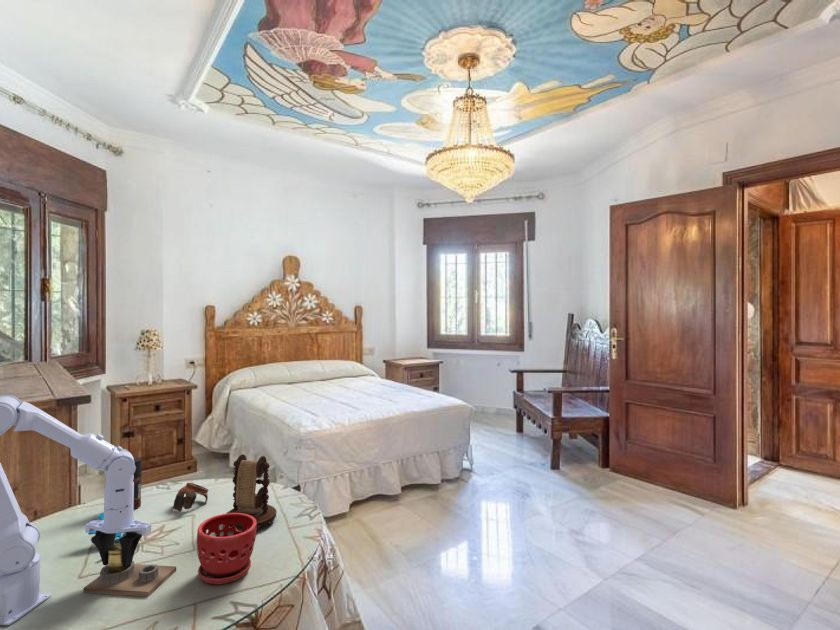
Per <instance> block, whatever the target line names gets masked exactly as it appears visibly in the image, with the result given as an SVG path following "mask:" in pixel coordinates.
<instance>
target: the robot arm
mask: <svg viewBox="0 0 840 630" xmlns="http://www.w3.org/2000/svg"><path fill="white" fill-rule="evenodd" d="M13 426H15V427H14V429H13V432H24V431H25V432H26V431H34V432H37V433H39V434H41V435H42V436H44V437H47V438H49V439H51V440H53V441H54V442H56V443H59V444H61V445H62V446H63V445H64V446H65V447H67V448H69V450H70V456H71V457H73V458H74V459H76V460H78V461H80V462H81V463H83V464H86V465H87V466H89V467H91V468H93V469H95V470H96V471H102V472H103V474H104V477H105V485H104V493H103V495H104V497H103V513H104V517H103V519H104V520H100V519H98V520H97V521H94V520H90V521H89V522H87V523H86V524H85V530H84V531H85V532H84V533H85V534H86V533H87V534H88V533H90V532H92V531H94V532H96V534H94V535H93V536H92V537H91V538H90V541H92V542H93V543H92V542H91V543H92V544H94V546H95V548H96V549H97V551H98V553H99V555H100V559H101V563H102V566H106V565H108V548H109V547H110V546H112V545H114V543H115V541H116V538H115V536H116V533H121V534H124V535H122V538H120V539H119V538H118V541H119V542H120V545H121V548H122V563H123V567H126V566H128V565H129V564H130V563H132V561H133V559H134V555H135V553H136V550H137V547H138V545H139V543H140V541H141V538H142V537H144V536H147V535H149V534H150V533H151V532H152V523H150V522H143V521H141V520H138V519H137V520H136V519H135V517H134V510H133V506H134V482H133V479H134V475H133V474H134V472H135V470H136V466H135V462H134V458H133V457H134V456H133V454H132V453H131V452H130V451H129V450H128V449H126V448H123V447H122V446H121V445H118V446H115V445H113V444H111V442H109V441H107V440H105V439H104V435H102V434H100V433H97V434H94V433H92V432H91V433H85V434H84V433H83V434H81V433H79V432H78V431H76V430H74V429H73V428H71V427H70V426H68V425H67V424H65V423H63V422H61V421H60V420H58V419H57V418H55V417H54V416H52V415H49V414H48V413H47V412H46V411H44V410H43V409H41V408H39V407H37V406H35V405H34V404H32V403H29V402H27V401H21V400H20V399H19V398H17V396H14V395H11V394H10V395H9V394H1V395H0V437H1V436H2V435H3V434H4V433H6V432H7V431H8V430H9V429H11V428H12V427H13ZM7 477H8V476H7V475H6V472H5V470H4V468H3V465H2V463H1V462H0V626H10V625H12V624H14V623H15V622H16V621H18V620H19V619H20V618H22V617H23V616H25V615H26V614H27V613H29V612H31V611H32V610H33V609H35V608H36V607H38V606H39V605H40V604H42V603H43V602H45V601H46V600H48V599H49V598H50V597H51V593H41V592H40V591H41V589H40V588H41V587H40V585H41V583H40V582H41V581H40V580H41V554H39V552H37V551H36V550H37V545H38V543H39V541H40V538H41V532H40V530H39V528H38V527H37V526H36V525H33V524H32V523H31V522H30V521H29V519H28V517H27V515H25V514H24V513H23V512H22V511H21V507H20V505H19V503H18V501H17V498H16V497H15V494H14V492H13V489H12V487H11V485H10V482H9V479H8V478H7ZM125 533H126V535H125Z"/></svg>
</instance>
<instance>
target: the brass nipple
mask: <svg viewBox="0 0 840 630" xmlns="http://www.w3.org/2000/svg"><path fill="white" fill-rule="evenodd" d="M107 565H108V574H114V573H119V572H121V571H124V570H126V569H128V566H129V565H128V566H126V567H123V563H122V548H121V545H120V543H118V542H117V543H115V544H114V545H112V546H110V547H109V548H108V564H107Z"/></svg>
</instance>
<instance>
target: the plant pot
mask: <svg viewBox="0 0 840 630" xmlns="http://www.w3.org/2000/svg"><path fill="white" fill-rule="evenodd" d="M226 513H227V512H226ZM226 513H221V514H217V515H214V516H212V517H211V516H210V517H209V518H207V519H206V520H204V521H202V522H201V523H200V525H199V526H198V527H197V531H196V532H197V533H196V550H197V551H196V552H197V558H198V561H199V563H200V565H199V566H198V570H197V573H198V577H199V578H200V580H202V581H203V582H205V583H208V584H211V585H223V584H227V583H228V584H229V583H231V582H235V581H236V580H238V579H240V578H242V577H243V576H245V575H246V573H248V572H249V570H250V568H251V566H252V559H251V556H252V553H253V551H254V548H255V547H254V546H255V542H256V539H257V538H256V536H257V532H256V529H257V522H256V519H255V518H254V517H252V516H250V515H248V514H243V513H227V514H226ZM237 523H241V524H242V526H243V529H240V530H239V529H236V524H237ZM229 524H233V526H232V527H229ZM220 526H223V527H222V528H220ZM248 528H249V529H248ZM229 532H232V535H229ZM221 533H222V534H223V535H221ZM211 534H214V535H215V536H213V535H211Z"/></svg>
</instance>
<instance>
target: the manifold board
mask: <svg viewBox="0 0 840 630" xmlns="http://www.w3.org/2000/svg"><path fill="white" fill-rule="evenodd" d="M176 571H177V566H175V565H173V566H172V565H158V564H141V563H140V564H139V563H137V564H136V563H135V561H133V560H132V563H130V564H129V566H128V569H126V570H124V571H121V572H119V573H114V574H108V564H107V565H106V566H105V565H103V567H102V568H101V569H100V571H99V576H97V577H96V578H95V579H93V580H91V581H90V582H89V583H88V584H86V586H84V587H83V593H86V594H103V595H104V594H105V595H106V594H107V595H117V596H118V595H120V596H133V597H134V596H135V597H139V596H140V597H150V596H151V595H152V594H153V593H154V592H155V591H156V590H157V589H159V588H160V587H161V585H163V584H164V583H165V582H166V581H167V580H169V578H170V577H171V576H172V575H174V573H175V572H176Z"/></svg>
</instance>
